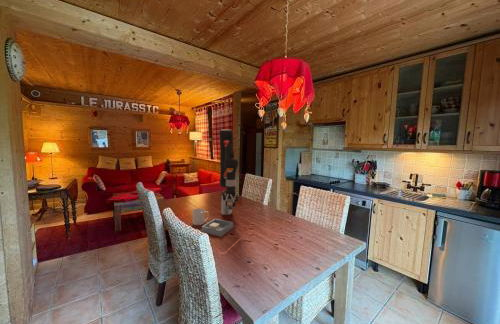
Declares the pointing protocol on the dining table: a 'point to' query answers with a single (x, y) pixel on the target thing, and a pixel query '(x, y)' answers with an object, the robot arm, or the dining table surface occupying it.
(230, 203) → the tin
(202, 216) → the mug
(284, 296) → the dining table surface
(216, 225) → the lid
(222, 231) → the crate
